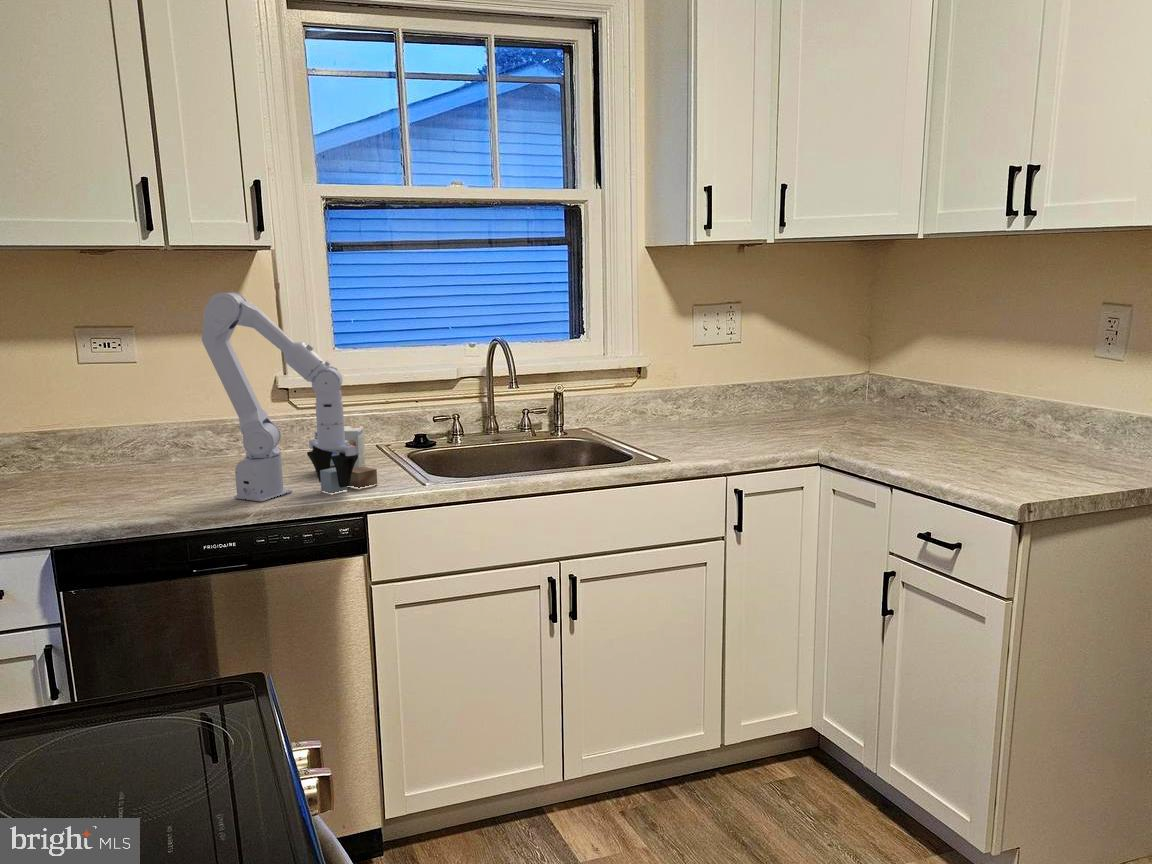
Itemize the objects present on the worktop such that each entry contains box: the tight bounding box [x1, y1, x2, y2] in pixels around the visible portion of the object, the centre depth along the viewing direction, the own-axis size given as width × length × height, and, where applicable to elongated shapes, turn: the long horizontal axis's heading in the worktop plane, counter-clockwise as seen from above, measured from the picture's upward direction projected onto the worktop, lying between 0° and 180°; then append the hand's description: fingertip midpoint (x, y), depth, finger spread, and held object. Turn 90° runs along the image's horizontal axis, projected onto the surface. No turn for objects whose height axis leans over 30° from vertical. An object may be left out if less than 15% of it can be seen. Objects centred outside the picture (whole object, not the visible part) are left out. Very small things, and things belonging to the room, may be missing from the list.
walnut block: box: [349, 466, 378, 488], centre depth 201 cm, size 5×5×4 cm
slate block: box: [320, 468, 348, 493], centre depth 196 cm, size 4×4×5 cm
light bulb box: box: [314, 425, 366, 468], centre depth 216 cm, size 11×7×11 cm, turn 92°
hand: (334, 484), depth 196 cm, fingers open, 7 cm apart
